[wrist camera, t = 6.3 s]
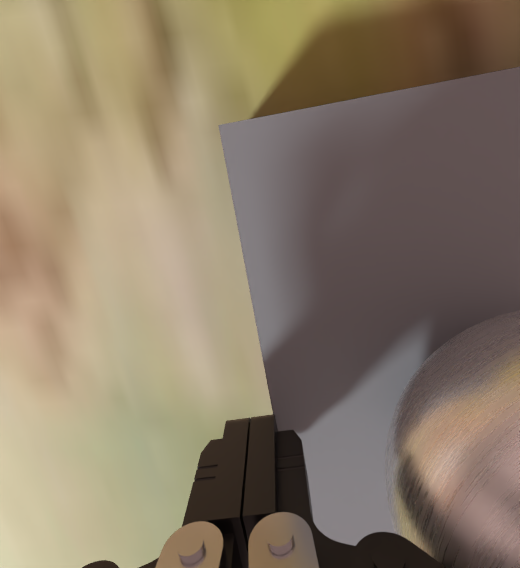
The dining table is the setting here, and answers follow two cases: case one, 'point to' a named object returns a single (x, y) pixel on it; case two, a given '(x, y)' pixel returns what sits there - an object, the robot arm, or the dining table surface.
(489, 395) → the ball
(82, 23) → the dining table surface
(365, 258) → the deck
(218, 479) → the robot arm
